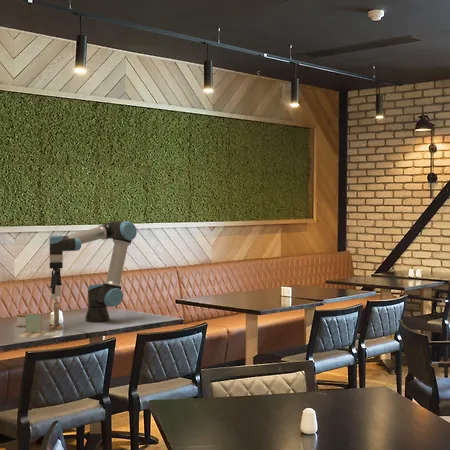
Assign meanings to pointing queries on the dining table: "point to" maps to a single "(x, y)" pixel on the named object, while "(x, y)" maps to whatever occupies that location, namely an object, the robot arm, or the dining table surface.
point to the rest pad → (52, 333)
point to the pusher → (56, 319)
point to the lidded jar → (22, 319)
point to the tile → (33, 322)
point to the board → (31, 334)
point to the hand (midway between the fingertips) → (55, 297)
